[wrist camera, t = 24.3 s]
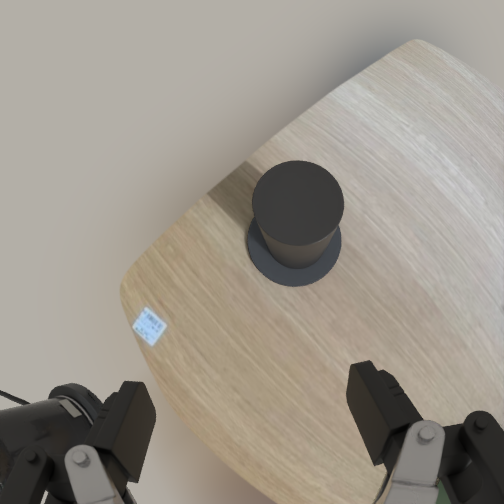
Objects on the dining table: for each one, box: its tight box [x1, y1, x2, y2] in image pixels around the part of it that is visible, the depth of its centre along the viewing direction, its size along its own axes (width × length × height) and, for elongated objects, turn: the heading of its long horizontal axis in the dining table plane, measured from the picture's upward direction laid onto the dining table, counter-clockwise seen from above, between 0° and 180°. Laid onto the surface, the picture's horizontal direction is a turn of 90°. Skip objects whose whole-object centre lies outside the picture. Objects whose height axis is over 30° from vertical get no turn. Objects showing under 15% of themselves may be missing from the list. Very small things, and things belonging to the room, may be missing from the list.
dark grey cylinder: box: [252, 161, 344, 269], centre depth 21 cm, size 6×6×10 cm
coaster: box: [248, 217, 341, 287], centre depth 26 cm, size 9×9×1 cm
